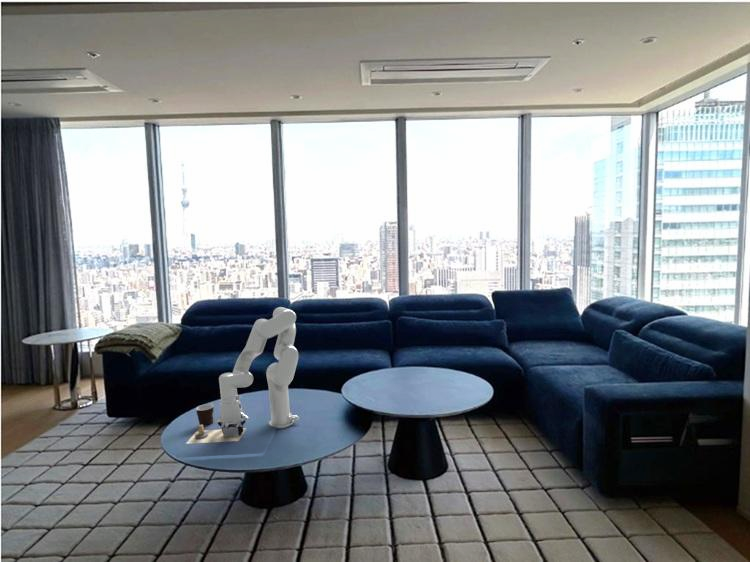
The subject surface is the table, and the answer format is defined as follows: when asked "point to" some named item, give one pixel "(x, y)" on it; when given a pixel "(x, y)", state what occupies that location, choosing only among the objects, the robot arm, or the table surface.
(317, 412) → the table surface
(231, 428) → the collar
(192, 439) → the stand board
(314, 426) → the table surface
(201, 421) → the coffee mug
